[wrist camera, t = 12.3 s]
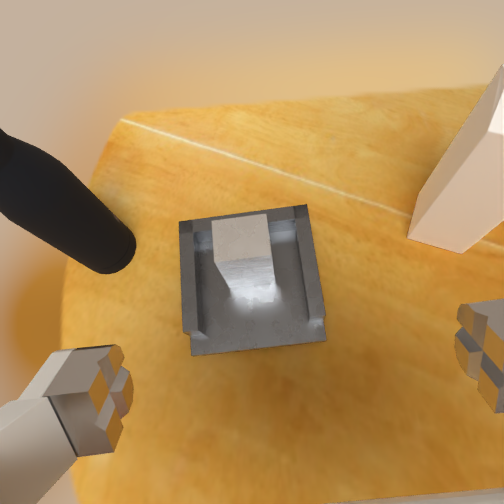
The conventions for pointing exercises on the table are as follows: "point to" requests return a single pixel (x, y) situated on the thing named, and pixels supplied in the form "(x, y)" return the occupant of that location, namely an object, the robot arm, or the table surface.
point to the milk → (466, 180)
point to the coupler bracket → (252, 289)
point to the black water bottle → (60, 208)
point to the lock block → (243, 250)
